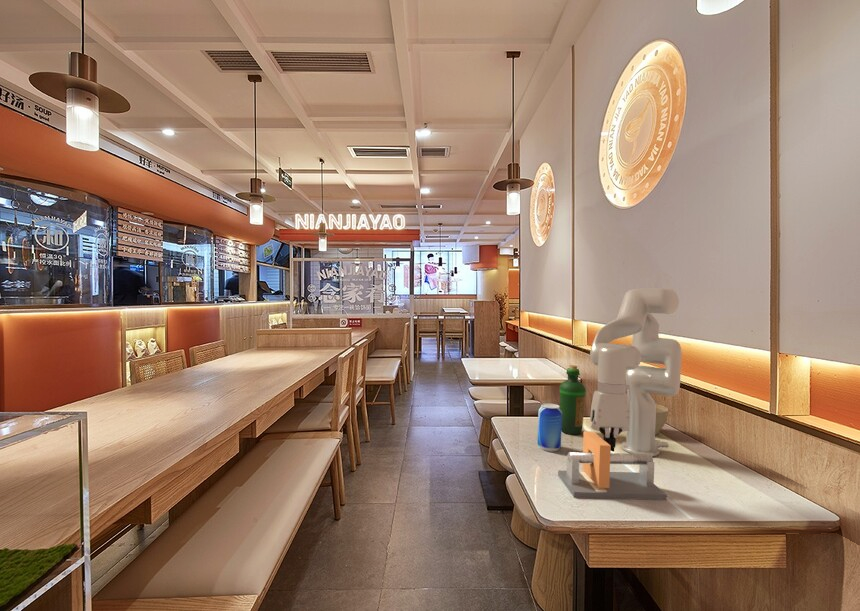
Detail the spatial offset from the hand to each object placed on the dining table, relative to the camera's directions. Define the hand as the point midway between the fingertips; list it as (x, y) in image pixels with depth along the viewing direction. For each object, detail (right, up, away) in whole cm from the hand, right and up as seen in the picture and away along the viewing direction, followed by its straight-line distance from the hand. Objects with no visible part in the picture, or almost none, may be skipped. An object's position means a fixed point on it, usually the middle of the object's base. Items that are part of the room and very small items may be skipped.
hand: (609, 449), depth 118 cm
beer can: (-9, -11, +30) cm, 33 cm away
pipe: (0, -10, 0) cm, 10 cm away
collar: (-4, -9, 0) cm, 9 cm away
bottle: (+6, -11, +49) cm, 51 cm away
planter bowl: (+39, -12, +52) cm, 66 cm away
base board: (0, -11, 0) cm, 11 cm away
